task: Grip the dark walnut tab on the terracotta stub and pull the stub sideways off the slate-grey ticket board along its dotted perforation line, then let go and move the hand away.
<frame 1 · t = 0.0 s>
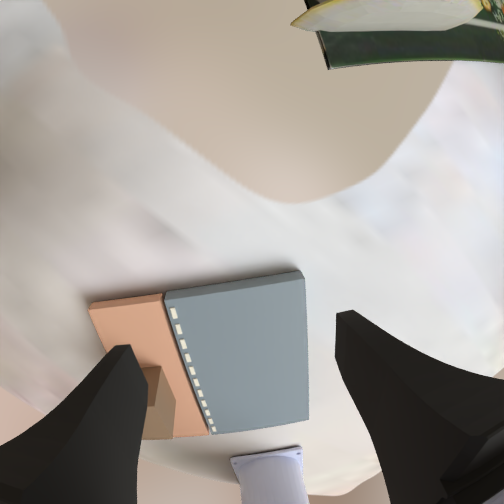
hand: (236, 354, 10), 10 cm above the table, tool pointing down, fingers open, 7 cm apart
ticket board: (248, 364, 23), on the table
stub: (152, 399, 21), point 3 cm above the table, slide at 0.0 cm
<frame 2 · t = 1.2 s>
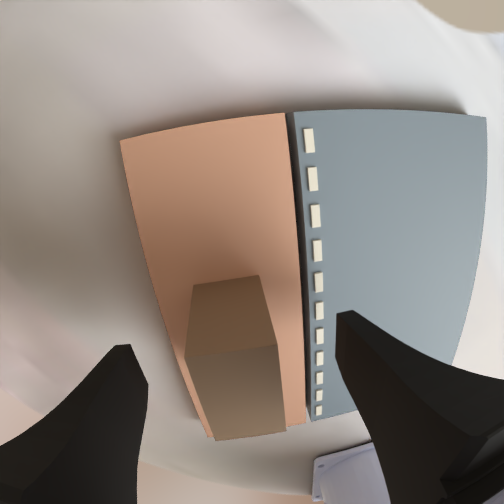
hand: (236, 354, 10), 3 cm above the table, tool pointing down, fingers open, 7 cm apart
ticket board: (394, 278, 13), on the table
stub: (236, 348, 11), point 3 cm above the table, slide at 0.0 cm
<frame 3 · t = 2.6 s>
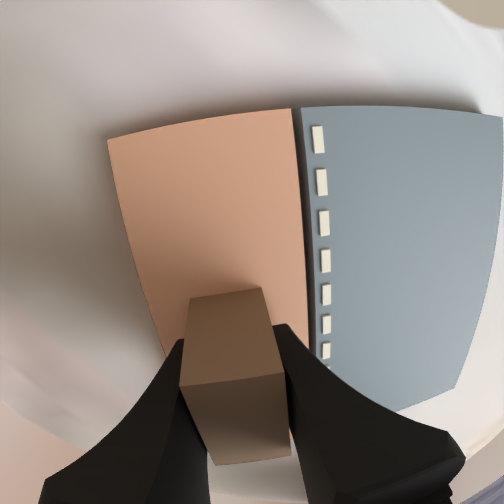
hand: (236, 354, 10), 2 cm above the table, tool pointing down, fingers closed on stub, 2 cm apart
ticket board: (404, 287, 12), on the table
stub: (237, 368, 10), point 3 cm above the table, slide at 0.0 cm, touching gripper
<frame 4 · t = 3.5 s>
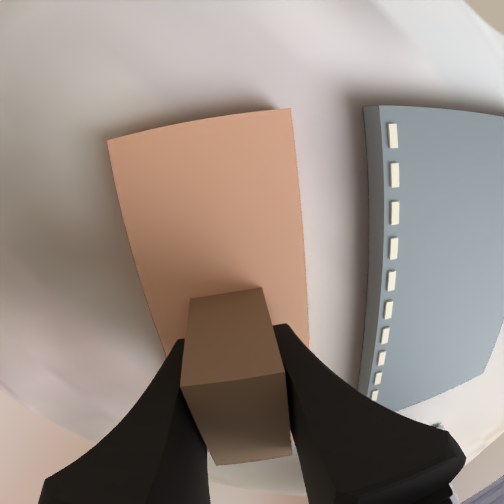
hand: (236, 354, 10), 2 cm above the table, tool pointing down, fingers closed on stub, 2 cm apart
ticket board: (448, 276, 13), on the table
stub: (238, 368, 10), point 3 cm above the table, slide at 2.6 cm, touching gripper
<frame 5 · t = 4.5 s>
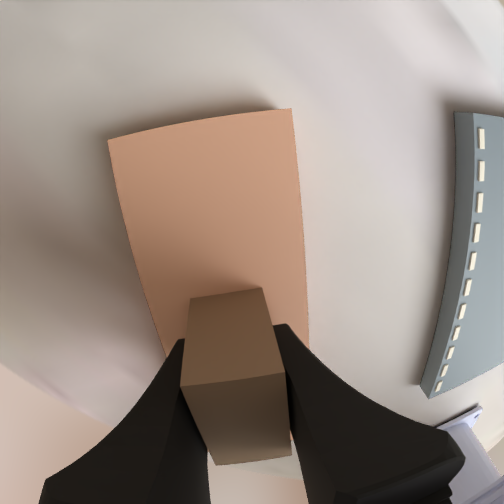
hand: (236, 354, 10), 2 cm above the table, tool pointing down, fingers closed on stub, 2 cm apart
ticket board: (502, 260, 13), on the table
stub: (238, 368, 10), point 3 cm above the table, slide at 7.0 cm, touching gripper
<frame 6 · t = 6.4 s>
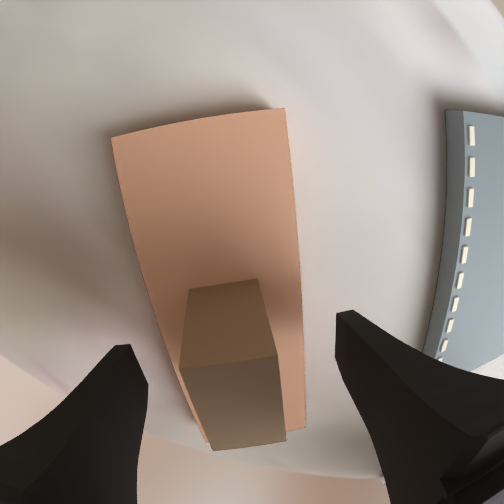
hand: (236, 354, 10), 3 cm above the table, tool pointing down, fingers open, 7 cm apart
ticket board: (495, 255, 13), on the table
stub: (234, 355, 10), point 3 cm above the table, slide at 7.0 cm
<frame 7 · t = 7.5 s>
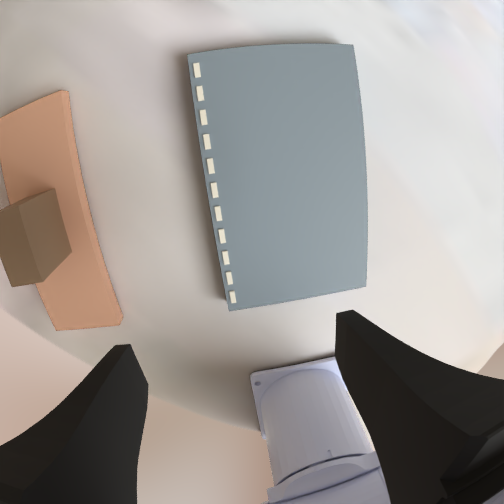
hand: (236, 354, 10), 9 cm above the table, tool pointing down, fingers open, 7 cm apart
ticket board: (286, 175, 18), on the table
stub: (36, 232, 14), point 3 cm above the table, slide at 7.0 cm
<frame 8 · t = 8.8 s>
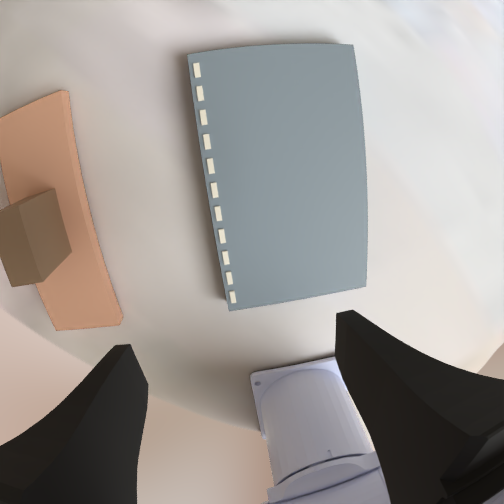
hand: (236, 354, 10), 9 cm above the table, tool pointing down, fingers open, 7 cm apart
ticket board: (286, 175, 18), on the table
stub: (36, 232, 14), point 3 cm above the table, slide at 7.0 cm
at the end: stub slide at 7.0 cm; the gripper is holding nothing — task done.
